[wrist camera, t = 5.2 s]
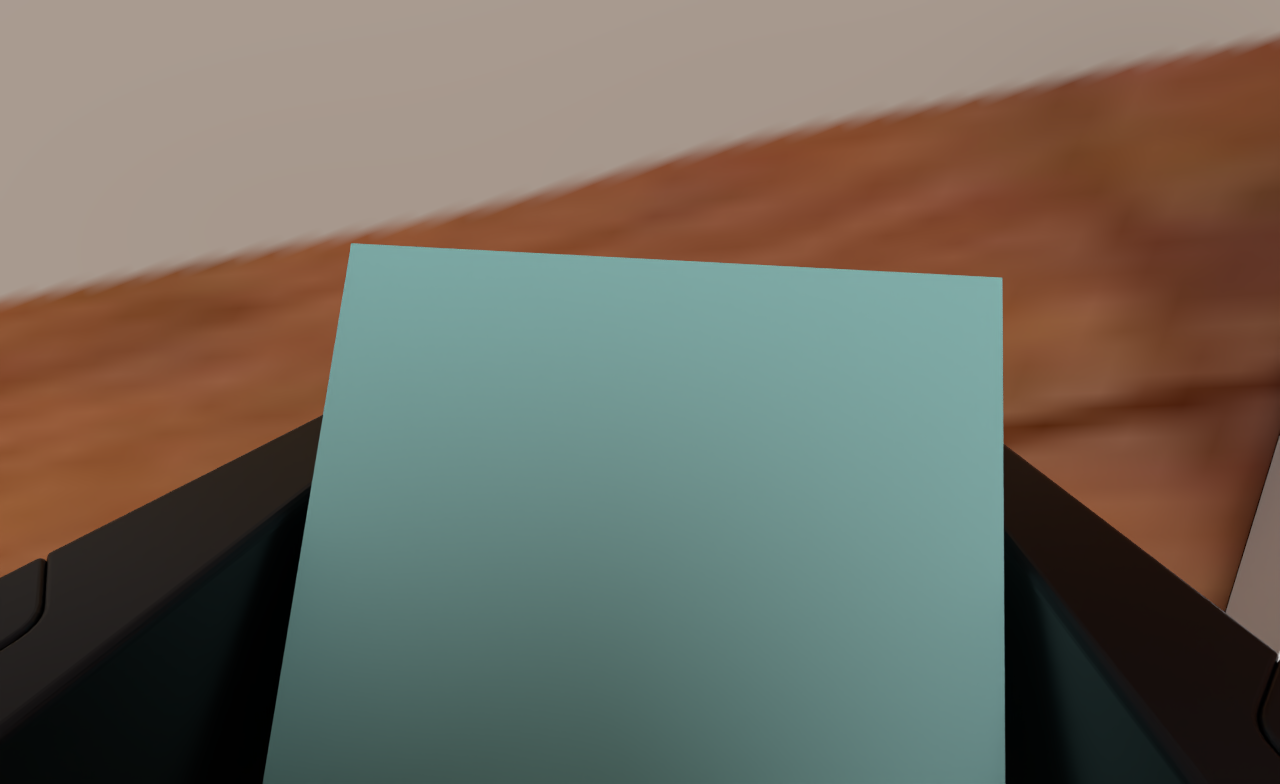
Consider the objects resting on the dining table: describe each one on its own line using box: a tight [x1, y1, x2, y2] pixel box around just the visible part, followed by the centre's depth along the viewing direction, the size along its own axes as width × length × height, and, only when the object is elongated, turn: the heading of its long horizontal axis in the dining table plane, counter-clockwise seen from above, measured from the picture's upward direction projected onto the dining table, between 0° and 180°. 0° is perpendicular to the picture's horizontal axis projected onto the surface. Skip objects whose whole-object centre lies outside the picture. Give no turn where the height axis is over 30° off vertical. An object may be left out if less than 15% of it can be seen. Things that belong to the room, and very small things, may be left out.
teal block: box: [263, 243, 1005, 784], centre depth 12 cm, size 5×5×11 cm
